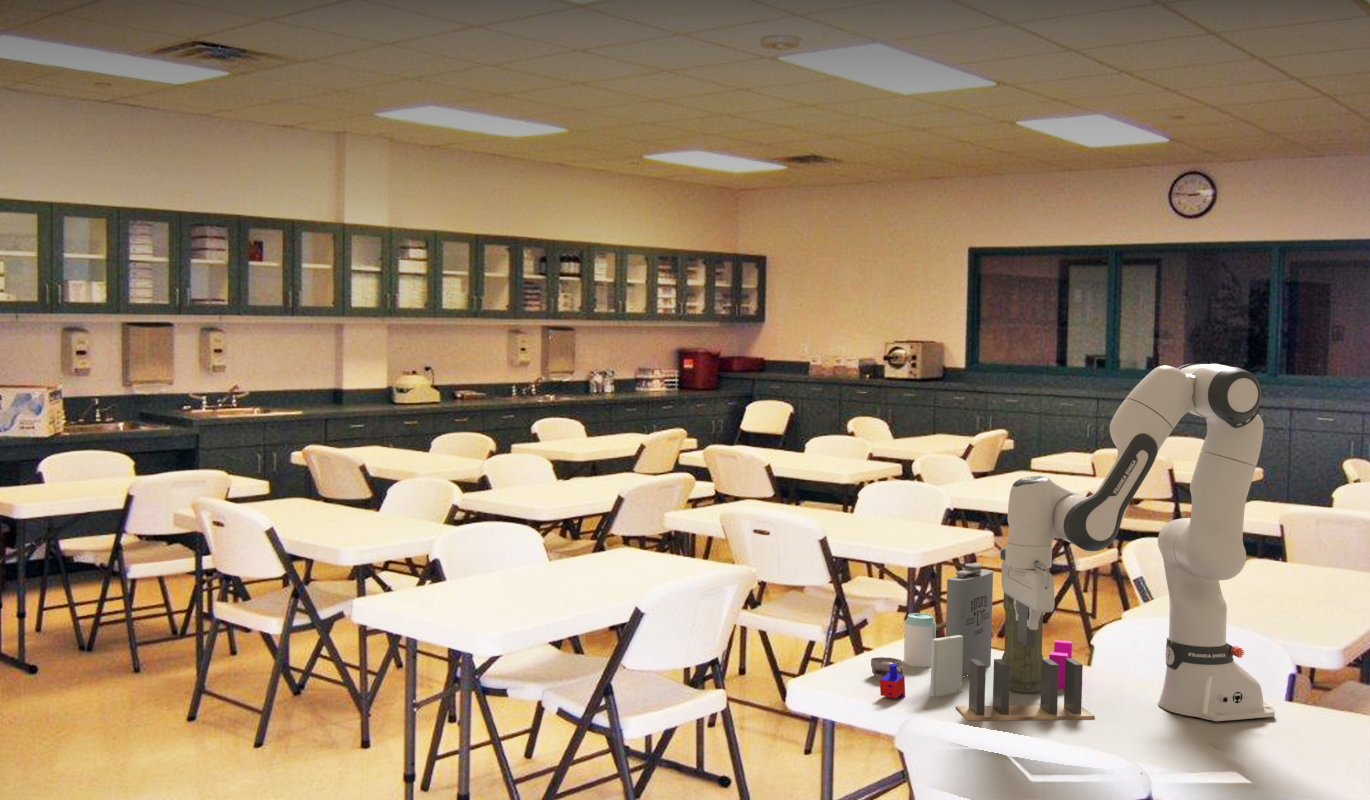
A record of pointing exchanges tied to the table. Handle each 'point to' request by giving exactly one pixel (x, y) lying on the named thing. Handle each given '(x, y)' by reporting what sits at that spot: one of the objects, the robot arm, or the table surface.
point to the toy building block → (892, 684)
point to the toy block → (1061, 658)
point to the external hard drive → (946, 665)
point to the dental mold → (884, 666)
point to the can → (919, 639)
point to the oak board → (1024, 713)
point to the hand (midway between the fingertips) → (1026, 625)
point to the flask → (971, 613)
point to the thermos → (1022, 654)
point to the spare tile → (1025, 627)
